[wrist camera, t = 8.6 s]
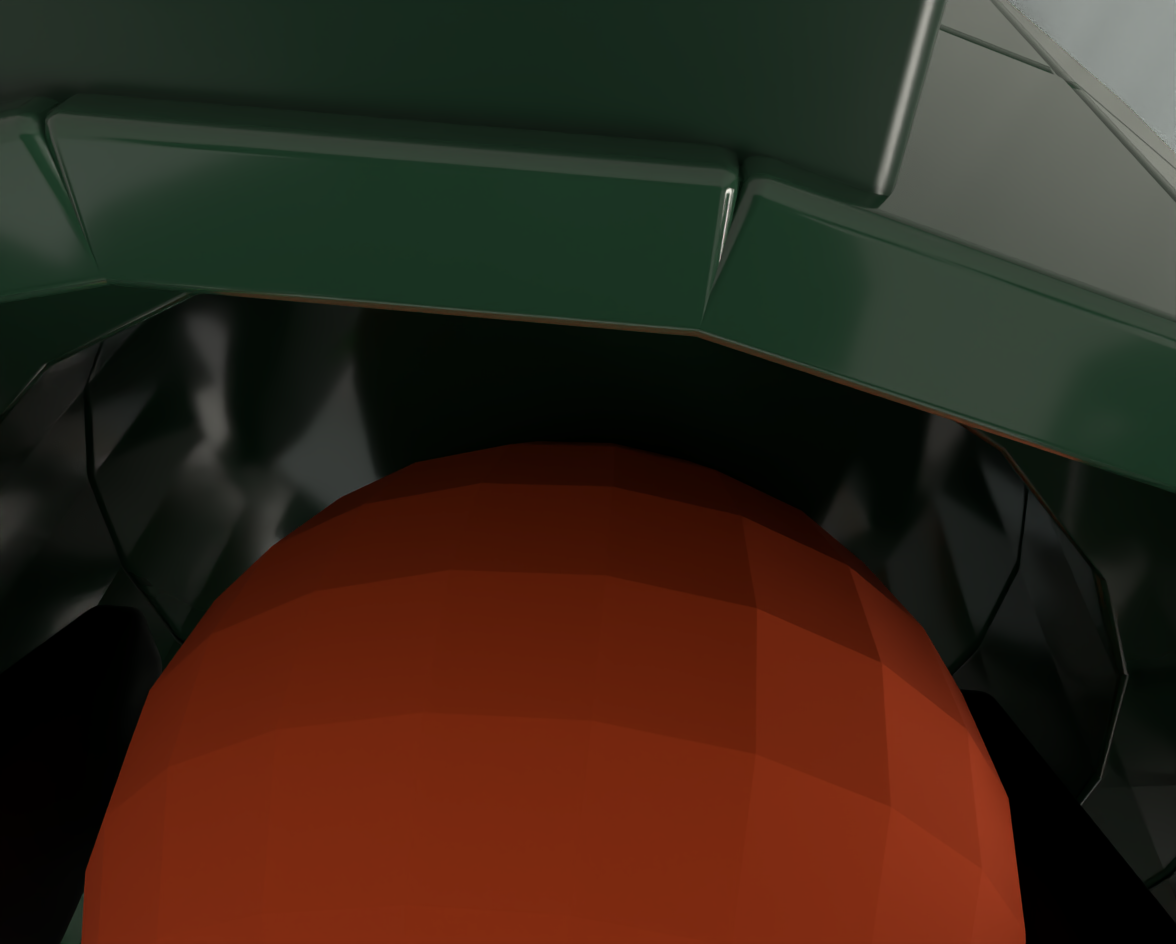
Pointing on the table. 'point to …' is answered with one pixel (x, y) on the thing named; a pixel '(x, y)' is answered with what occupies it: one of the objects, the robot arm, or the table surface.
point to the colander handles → (516, 66)
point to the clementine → (556, 730)
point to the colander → (628, 361)
